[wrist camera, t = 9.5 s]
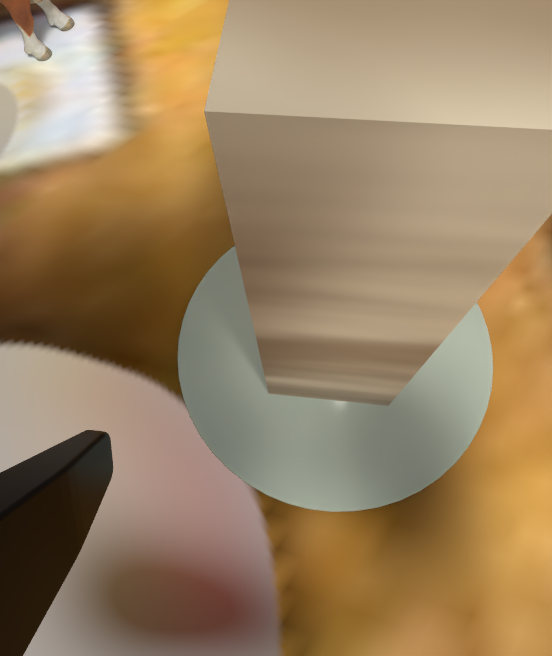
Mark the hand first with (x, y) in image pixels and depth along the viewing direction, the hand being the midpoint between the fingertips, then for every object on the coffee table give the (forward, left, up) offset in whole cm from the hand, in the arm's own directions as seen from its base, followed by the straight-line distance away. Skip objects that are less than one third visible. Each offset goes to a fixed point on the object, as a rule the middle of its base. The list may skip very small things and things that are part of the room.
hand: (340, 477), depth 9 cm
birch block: (+6, 0, -8) cm, 10 cm away
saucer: (+6, 0, -9) cm, 10 cm away
